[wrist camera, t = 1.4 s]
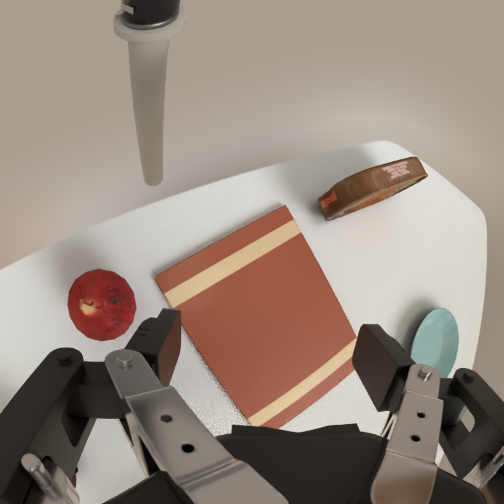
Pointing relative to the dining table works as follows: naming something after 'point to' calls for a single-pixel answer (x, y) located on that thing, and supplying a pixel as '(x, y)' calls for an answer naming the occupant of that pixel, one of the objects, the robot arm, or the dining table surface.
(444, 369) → the saucer
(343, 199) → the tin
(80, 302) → the red pomegranate
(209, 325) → the towel
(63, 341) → the dining table surface
